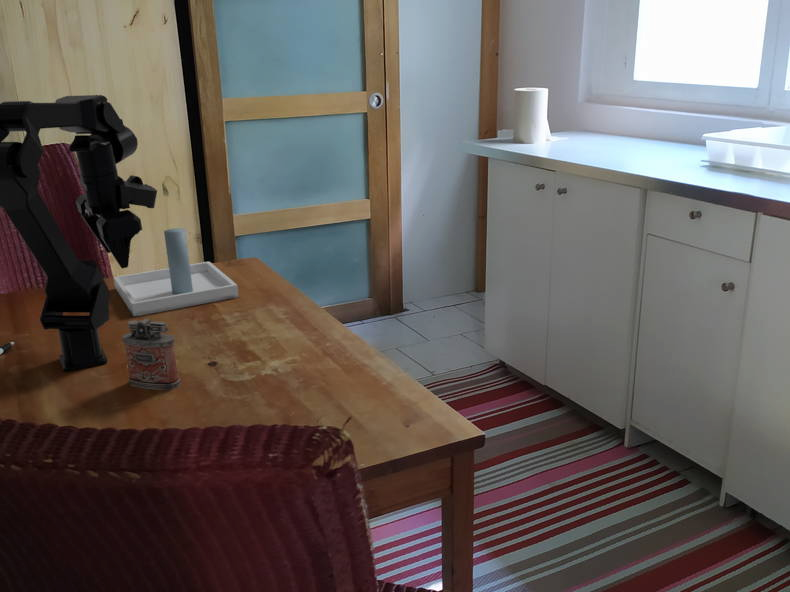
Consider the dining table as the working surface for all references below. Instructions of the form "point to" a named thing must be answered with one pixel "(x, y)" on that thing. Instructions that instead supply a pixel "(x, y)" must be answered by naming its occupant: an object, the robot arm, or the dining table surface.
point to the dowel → (178, 260)
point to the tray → (156, 292)
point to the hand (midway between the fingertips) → (117, 259)
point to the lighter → (151, 356)
